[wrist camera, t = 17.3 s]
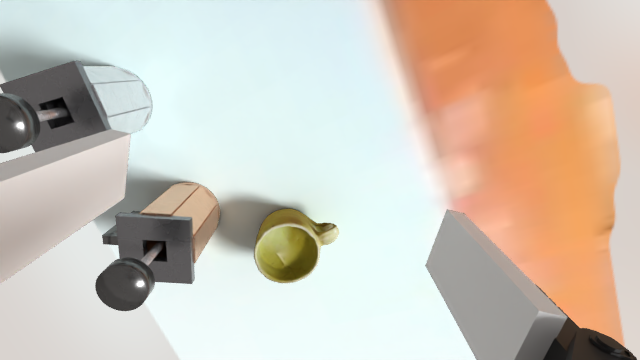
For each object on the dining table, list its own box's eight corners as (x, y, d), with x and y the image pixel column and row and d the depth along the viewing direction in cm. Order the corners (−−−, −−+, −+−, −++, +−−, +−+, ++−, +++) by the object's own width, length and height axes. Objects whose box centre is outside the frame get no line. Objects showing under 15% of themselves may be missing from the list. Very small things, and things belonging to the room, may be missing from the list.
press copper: (144, 234, 58) (97, 280, 45) (140, 178, 55) (88, 211, 42) (220, 238, 58) (194, 286, 45) (219, 183, 55) (192, 218, 43)
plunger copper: (166, 194, 53) (92, 257, 35) (207, 203, 53) (154, 270, 36) (161, 230, 54) (88, 308, 37) (201, 239, 55) (148, 320, 37)
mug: (260, 277, 58) (259, 294, 48) (249, 214, 58) (246, 218, 48) (334, 262, 60) (348, 275, 50) (323, 200, 60) (335, 201, 50)
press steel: (87, 146, 53) (17, 171, 41) (56, 84, 51) (-28, 90, 38) (162, 124, 52) (115, 142, 40) (135, 59, 50) (75, 57, 37)
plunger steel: (87, 75, 48) (-45, 80, 30) (133, 87, 48) (30, 98, 31) (84, 120, 49) (-42, 149, 32) (129, 130, 50) (29, 165, 32)
